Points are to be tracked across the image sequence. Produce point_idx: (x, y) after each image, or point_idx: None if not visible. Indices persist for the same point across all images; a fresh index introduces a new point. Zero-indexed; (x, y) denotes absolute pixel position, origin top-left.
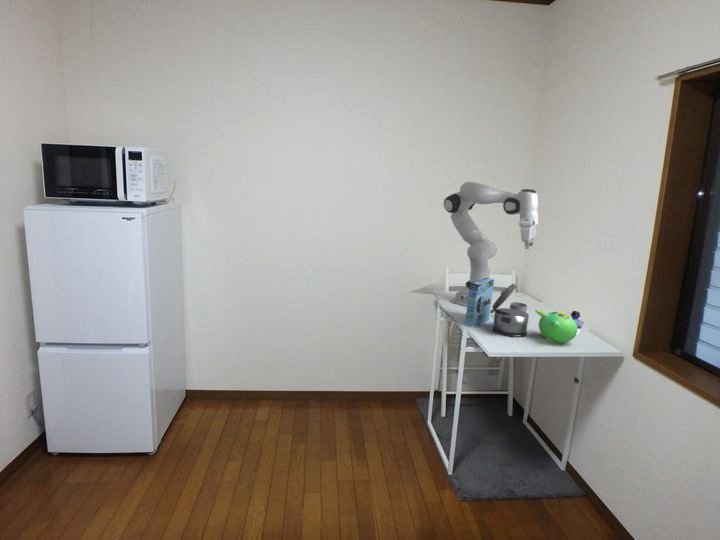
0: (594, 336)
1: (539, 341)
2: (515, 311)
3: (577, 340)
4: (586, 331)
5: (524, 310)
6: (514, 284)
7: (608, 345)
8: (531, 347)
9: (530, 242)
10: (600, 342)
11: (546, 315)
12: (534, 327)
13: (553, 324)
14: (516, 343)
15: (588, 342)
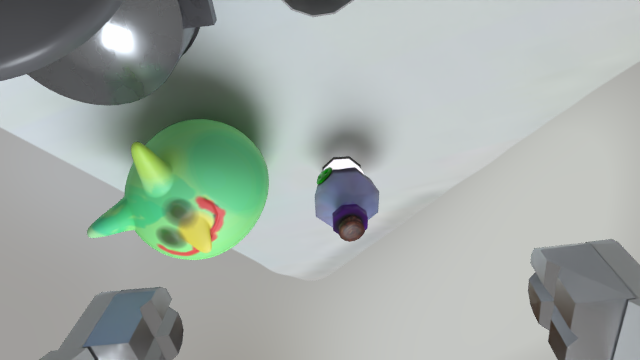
0: (372, 221)
1: (138, 127)
2: (134, 20)
3: (279, 201)
4: (412, 193)
5: (301, 6)
6: (8, 65)
7: (312, 261)
8: (45, 131)
9: (624, 327)
10: (322, 244)
11: (144, 186)
12: (299, 48)
13: (94, 222)
14: (19, 78)
15: (289, 225)
